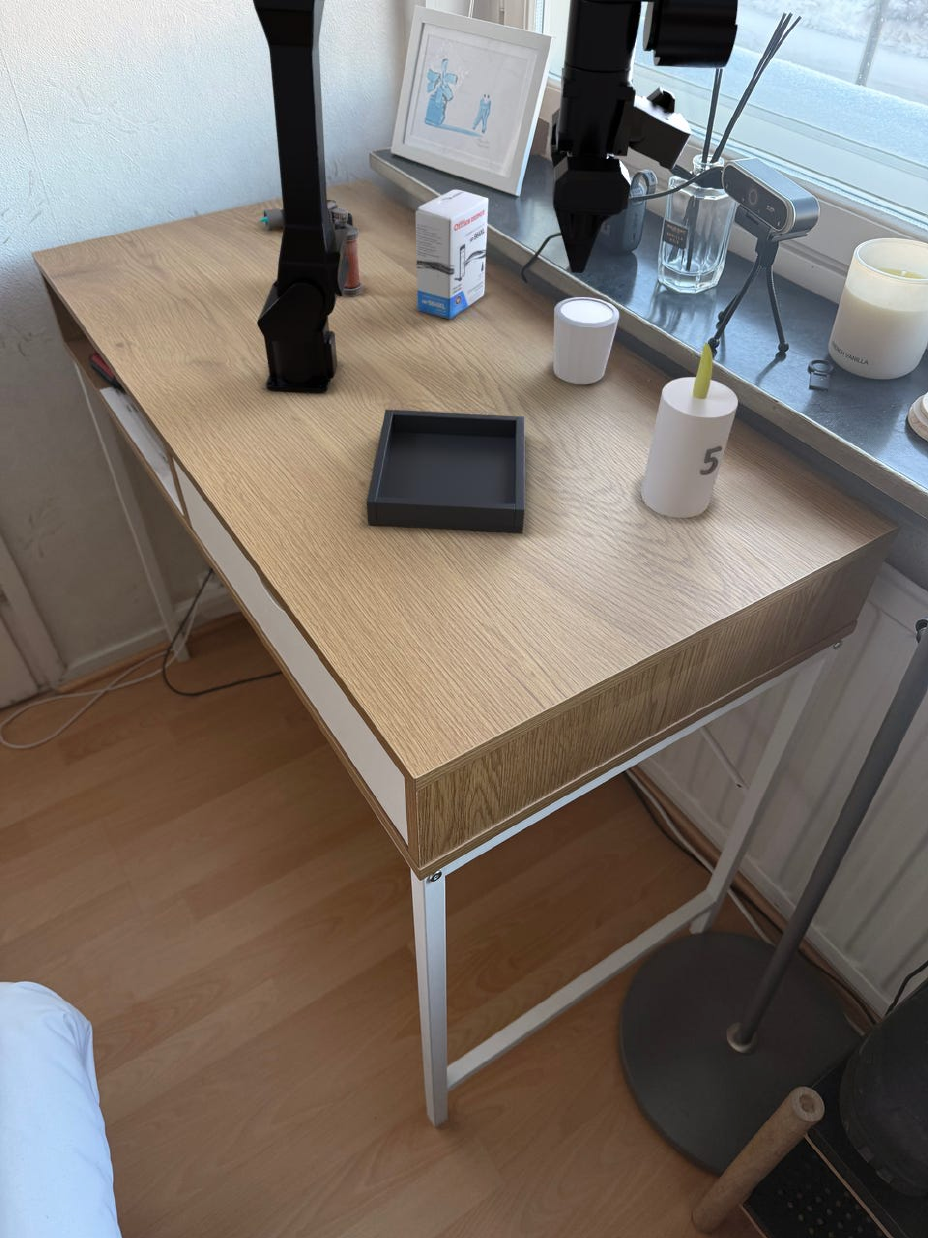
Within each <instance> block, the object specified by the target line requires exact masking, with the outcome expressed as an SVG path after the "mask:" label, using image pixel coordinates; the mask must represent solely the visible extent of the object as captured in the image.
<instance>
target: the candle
mask: <svg viewBox="0 0 928 1238" xmlns="http://www.w3.org/2000/svg"><path fill="white" fill-rule="evenodd" d="M713 367H714V360H713V351H712V348H711V346H710V344H709V343H708V342H705V343H704V344H703V347H702V351H701V355H700V360H699V364H698V367H697V371H696V375H695V376H693V377H692V376H691V377H690V376H689V377H688V376H687V377H680V378H676V379H672V380H670V381H669V382H668V383H666V384H665V385H664V387H662V391H661V395H660V401H659V405H658V409H657V415H656V419H655V424H654V428H653V432H652V433H653V435H652V436H651V437H652V438H651V442H650V447H649V452H648V456H647V461H646V466H645V470H644V475H643V479H642V484H641V487H640V488H641V490H640V496H641V499H642V501H643V503H644V504H645V505H646V506H647V507H648V508H649V509H650V510H652V511H654V512H656V513H658V514H659V515H661V516H665V517H668V518H669V517H670V518H676V519H688V518H694V517H697V516H700V515H702V514H703V513H704V512H705V511H707V509H708V507H709V505H710V503H711V498H712V495H713V492H714V488H715V485H716V481H717V478H718V475H719V471H720V467H721V465H722V461H723V457H724V454H725V450H726V447H727V444H728V440H729V436H730V433H731V430H732V426H733V423H734V419H735V416H736V412H737V409H738V405H739V399H738V397H737V395H736V393H735V392H734V391H733V390H732V389H731V388H730V387H728V386H727V385H725V384H723V383H720V382H719V381H717V380H716V381H715V380H713V379H712V377H713V376H712V375H713Z"/></svg>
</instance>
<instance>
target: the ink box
mask: <svg viewBox="0 0 928 1238" xmlns="http://www.w3.org/2000/svg"><path fill="white" fill-rule="evenodd" d="M414 214H415V254H416V255H415V257H416V300H417V301H416V302H417V305H416V307H417V308H416V309H417V311H419V312H422V313H425V314H430V315H432V316H436V317H440V318H443V319H447V320H452V319H453V318H454V317H456V316H457V315H458V314H460V313H461V312H463V311H464V310H465V309H467V308H468V307H470V306H471V305H473V304H474V303H475V302H476V301H479V299H481V298H482V297H483V296H485V285H486V262H487V261H486V257H487V237H488V235H487V234H488V217H489V216H488V214H489V198H488V197H486V196H482V195H479V194H474V193H472V192H469V191H465V190H461V189H457V188H456V189H451V190H449V191H448V192H445V193H443V194H441V195H440V196H437V197H436V198H434V199H432V200H429V201H428V202H426V203H424V204H422V205H420V206H418V209H417V210H415V213H414Z"/></svg>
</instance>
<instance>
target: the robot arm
mask: <svg viewBox="0 0 928 1238" xmlns="http://www.w3.org/2000/svg"><path fill="white" fill-rule="evenodd" d="M325 2H326V0H252V3H253V8H254V10H255V13H256V16H257V18H258V20H259V23H260V26H261V28H262V32H263V34H264V37H265V40H266V42H267V47H268V51H269V60H270V62H269V63H270V72H271V73H270V74H271V85H272V96H273V97H272V98H273V106H274V107H273V108H274V118H275V130H276V141H277V152H278V163H279V165H278V166H279V176H280V186H281V188H280V189H281V198H282V209H283V211H284V226H283V230H282V235H281V242H280V249H279V256H278V264H277V274H276V275H277V277H276V280H275V281H273V283H272V285H271V286H270V289H269V292H268V294H267V297H266V299H265V302H264V304H263V306H262V309H261V312H260V314H259V317H258V319H257V322H256V324H257V327H258V328H259V330H260V333H261V334H262V336H263V341H264V347H265V354H266V361H267V368H268V373H269V375H268V377H267V380H266V383H265V386H266V387H265V388H266V389H267V390H268V391H269V390H270V391H286V392H287V391H288V392H309V393H327V392H328V391H329V388H330V385H331V381H332V380H333V379H334V378H335V376H336V372H337V370H338V356H337V344H336V334H335V331H333V330H330V325H329V316H330V315H331V314H332V313H333V311H334V309H335V307H336V303H337V299H338V297H343V295H342V294H343V291H344V287H345V283H346V280H347V276H348V272H349V269H350V264H349V262H348V260H347V256H346V242H347V234H348V229H338V230H334V228H333V225H332V222H331V220H330V217H329V214H328V209H327V200H328V197H327V196H328V195H327V177H326V176H327V175H326V159H325V158H326V157H325V140H324V139H325V138H324V136H325V135H324V119H323V118H324V117H323V99H322V81H321V79H322V78H321V63H320V46H319V45H320V35H321V28H322V22H323V14H324V8H325ZM643 3H647V5H646V10H645V15H644V20H643V21H644V22H643V29H642V50H643V52H652V54H653V55H652V58H653V66H655V67H669V68H694V69H696V68H698V69H714V70H715V69H718V70H720V69H721V70H724V69H725V68H726V66H727V65H728V63H729V61H730V58H731V55H732V52H733V50H734V45H735V43H736V37H737V32H738V28H739V25H738V23H737V19H738V18H737V17H738V8H739V6H738V5H739V0H569V10H568V18H567V19H568V20H567V31H566V39H565V40H566V41H565V50H564V62H563V67H561V76H560V77H561V78H560V87H561V91H560V98H559V100H560V101H559V108H557V110H556V111H555V112H553V113H552V114H551V120H550V129H549V148H550V149H549V150H550V158H551V162H552V167H553V179H552V194H551V197H552V207H553V210H554V214H555V217H556V221H557V225H558V228H559V230H560V235H561V239H562V242H563V247H564V249H565V253H566V258H567V261H568V264H569V265H568V266H569V269H570V272H571V273H572V274H583V273H584V271H585V269H586V266H587V264H588V261H589V259H590V256H591V254H592V251H593V248H594V246H595V243H596V241H597V238H598V236H599V233H600V230H601V229H602V226H603V224H604V223H605V222H606V221H607V220H609V219H610V218H613V216H618V215H620V214H621V213H623V211H624V210H627V209H628V208H629V201H630V195H631V189H632V184H631V179H630V174H629V170H628V169H627V168H626V167H625V165H624V163H622V161H621V159H620V158H615V157H628V152H629V149H631V150H632V151H634V152H635V153H639V154H640V155H643V156H644V157H647V158H649V159H650V160H653V161H655V162H657V163H658V165H659V166H660V167H662V168H664V169H666V170H671V171H672V170H673V169H674V168H675V166H676V164H677V162H678V161H679V159H680V156H681V154H683V151H684V150H685V147H686V145H687V143H688V142H689V140H690V138H691V136H692V134H693V132H692V129H691V128H690V125H689V123H688V121H687V120H686V119H685V118H684V117H683V116H682V114H681V113H679V112H677V113H675V107H676V97H675V96H674V93H673V92H671V91H669V90H667V89H665V88H663V87H661V86H659V87H657V88H656V89H655V90H654V91H652V93H650V94H649V95H648V96H645V95H641V96H638V95H636V94H637V90H636V87H635V86H634V85H633V68H634V60H635V55H636V47H637V42H638V34H639V28H640V23H641V21H640V20H641V14H642V6H643Z"/></svg>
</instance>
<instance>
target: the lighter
mask: <svg viewBox="0 0 928 1238" xmlns="http://www.w3.org/2000/svg"><path fill="white" fill-rule="evenodd" d="M333 201H334V200H333ZM333 201H331V202H329V203H327V209H328V214H329V217H330V220H331V222H332V225H333V228H334V230H338V229H348V234H347V242H346V256H347V260H348V262H349V264H350V269H349V272H348V276H347V280H346V283H345V287H344V291H343V294H342V296H344V297H356V296H359V295H360V294H362V283H361V282H360V270H359V269H360V267H359V266H360V265H359V251H358V250H359V249H358V238H359V228H357V227H355V226H351V225H349V224H347V220H348V213H349V212H348V209H345V208H342V207H339V206H338V204H337V202H336V201H335V202H336V203H335V202H333ZM347 212H348V213H347Z"/></svg>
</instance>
